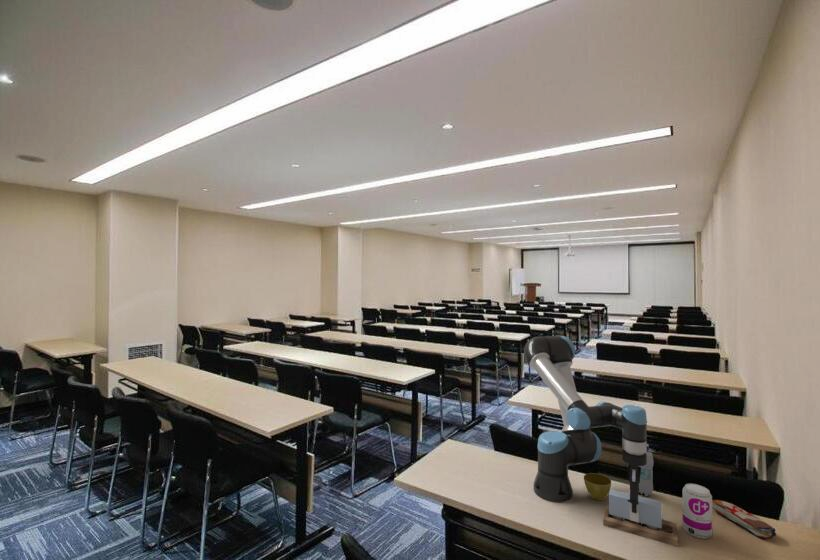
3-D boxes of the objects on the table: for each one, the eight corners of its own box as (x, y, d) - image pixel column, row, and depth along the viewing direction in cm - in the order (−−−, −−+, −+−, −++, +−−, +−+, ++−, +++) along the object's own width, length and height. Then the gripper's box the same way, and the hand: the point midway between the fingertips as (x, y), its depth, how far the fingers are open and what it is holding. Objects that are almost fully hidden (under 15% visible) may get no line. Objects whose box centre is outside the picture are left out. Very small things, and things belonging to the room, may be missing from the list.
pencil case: (736, 509, 152) (736, 496, 152) (782, 542, 132) (782, 527, 132) (706, 508, 152) (706, 495, 152) (748, 542, 132) (748, 527, 132)
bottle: (656, 498, 159) (656, 448, 159) (638, 496, 160) (638, 446, 160) (649, 489, 165) (649, 441, 165) (632, 488, 166) (632, 440, 167)
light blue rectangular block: (609, 519, 143) (608, 494, 143) (610, 513, 147) (610, 489, 147) (661, 534, 135) (661, 507, 135) (661, 527, 138) (661, 501, 138)
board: (603, 524, 141) (603, 519, 141) (606, 509, 150) (606, 504, 150) (678, 546, 130) (677, 540, 130) (676, 528, 139) (676, 523, 139)
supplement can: (713, 543, 131) (713, 497, 132) (683, 534, 136) (683, 490, 136) (710, 529, 138) (710, 486, 138) (681, 522, 143) (681, 480, 143)
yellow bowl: (578, 493, 162) (578, 475, 163) (596, 488, 166) (596, 471, 166) (598, 505, 153) (598, 487, 153) (617, 500, 157) (617, 482, 157)
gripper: (646, 462, 132) (646, 533, 131) (647, 444, 146) (647, 508, 146) (620, 457, 135) (620, 526, 135) (624, 440, 150) (624, 502, 150)
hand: (634, 517), depth 141 cm, fingers closed on light blue rectangular block, 4 cm apart
